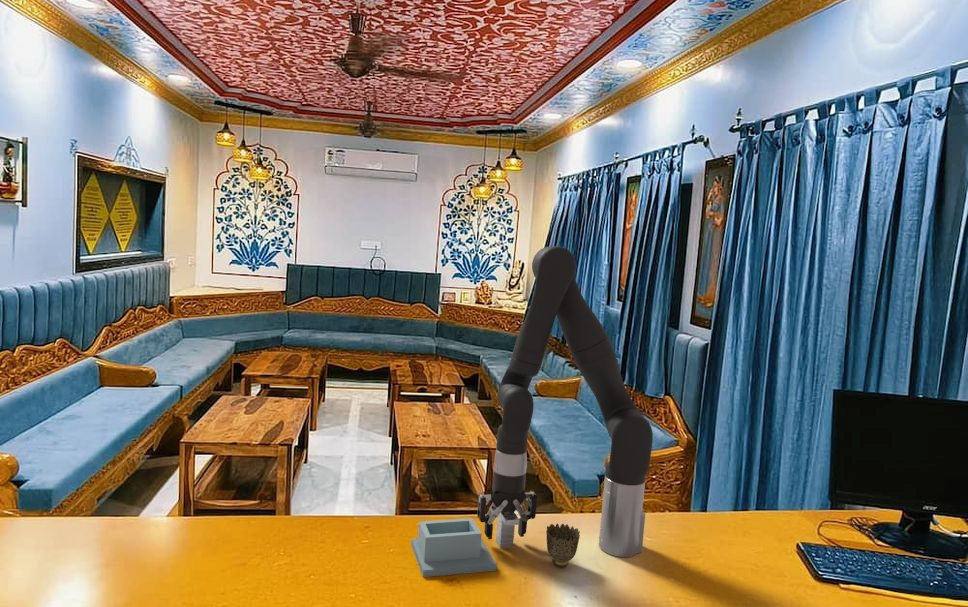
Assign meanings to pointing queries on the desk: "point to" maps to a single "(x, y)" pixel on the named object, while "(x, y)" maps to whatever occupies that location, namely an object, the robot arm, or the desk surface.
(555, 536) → the cup
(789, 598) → the desk surface
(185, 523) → the desk surface
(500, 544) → the grey painted wood block
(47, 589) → the desk surface
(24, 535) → the desk surface
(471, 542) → the well board
